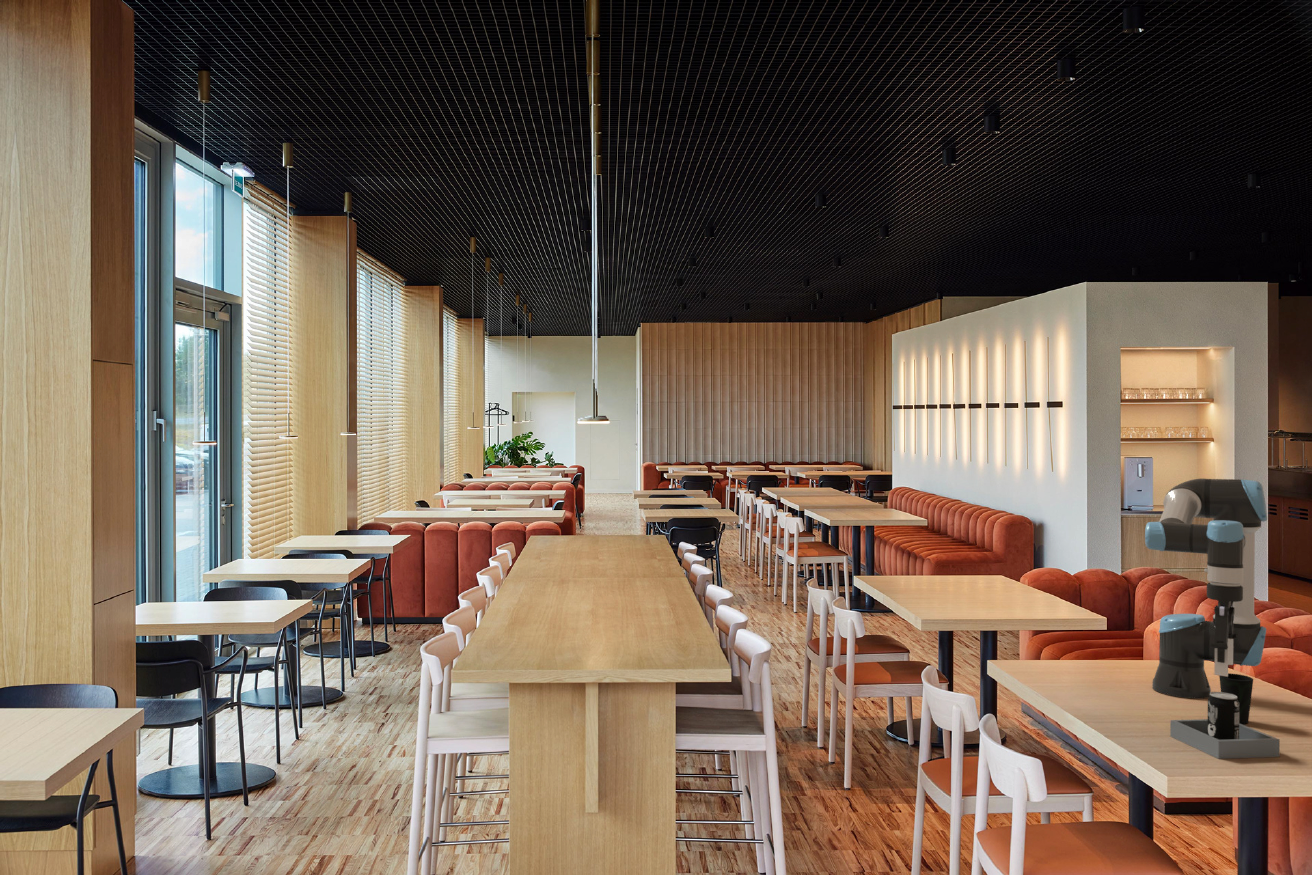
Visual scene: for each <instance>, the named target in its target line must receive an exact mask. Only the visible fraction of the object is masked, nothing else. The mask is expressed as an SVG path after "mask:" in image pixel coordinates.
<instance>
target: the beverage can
mask: <svg viewBox="0 0 1312 875" xmlns="http://www.w3.org/2000/svg"><path fill="white" fill-rule="evenodd" d="M1207 719H1208V722H1207V735H1209V736H1212V737H1214V738H1216V739H1219V740H1229V739H1239V702H1238V700H1237V696H1235V695H1233V694H1229V693H1223V692H1221V691H1211V693H1210V696H1209V697H1208V698H1207Z"/></svg>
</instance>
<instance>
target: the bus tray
mask: <svg viewBox="0 0 1312 875" xmlns="http://www.w3.org/2000/svg"><path fill="white" fill-rule="evenodd" d="M1207 722H1208V718H1205V719H1203V718H1202V719H1201V718H1200V719H1171V720H1170V737H1171V738H1173V739H1175V740H1176V741H1177V740H1178V741H1179V742H1181V743H1184V744H1186V745H1187V746H1190V747H1192V748H1194V749H1196V750H1199V751H1201V752H1203V753H1205V754H1207V755H1210V756H1212V757H1214V758H1216V759H1218V760H1221V759H1222V760H1223V759H1225V760H1226V759H1248V758H1249V759H1251V758H1279V757H1280V739H1279V738H1277V737H1275V736H1271V735H1269V734H1267V733H1265V732H1262V731H1259V730H1257V729H1254V728H1252V727H1249V726H1247V725H1242V724H1240V723H1239V739H1229V740H1219V739H1216V738H1214V737H1212V736H1209V735H1207Z"/></svg>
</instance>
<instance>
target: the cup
mask: <svg viewBox="0 0 1312 875" xmlns="http://www.w3.org/2000/svg"><path fill="white" fill-rule="evenodd" d="M1218 676H1219V677H1218V678H1219V686H1220V692H1223V693H1229V694H1233V695H1235V696H1237V700H1238V702H1239V723H1240V724H1242V725H1245V726H1247V725H1248V724H1249V720H1250V710H1251V703H1252V694H1253V693H1252V692H1253V688H1254V687H1253V686H1254V678H1253V677H1250V676H1248V675H1245V674H1244V675H1243V674H1240V673H1239V674H1238V673H1231V672H1228V677H1227V676H1220V675H1218Z"/></svg>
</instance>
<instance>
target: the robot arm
mask: <svg viewBox="0 0 1312 875" xmlns="http://www.w3.org/2000/svg"><path fill="white" fill-rule="evenodd" d="M1162 503H1163V511H1162V513H1161V517H1160V519H1159V520H1158V521H1149V522H1147V523H1146V525H1145V531H1144V532H1145V533H1144V541H1145V542H1144V543H1145V547H1146V548H1147V549H1148V550H1152V551H1159V552H1173V553H1175V552H1176V553H1188V554H1189V553H1193V554H1205V555H1207V557H1206V559H1207V561H1206V562H1207V563H1206V567H1207V568H1204V570H1203V571H1204V573H1207V574H1206V581H1208V583H1207V584H1206V598H1208V599H1209V600H1213V601H1214V600H1215V601H1216V602H1217V605H1215V606H1214V607H1213V608H1214V610H1213V611H1214V614H1213V615H1212V620H1211V621H1210V620H1206V618H1205V616H1204V615H1203V614H1199V613H1198V614H1195V613H1173V614H1166V615H1165V616H1162V617H1161V619H1160V620H1159V629H1158V633H1159V649H1158V650H1159V651H1158V652H1159V653H1158V654H1159V655H1158V656H1159V658H1158V661H1159V662H1158V666H1157V669H1156V671H1155V674H1154V678H1152V681H1151V682H1152V683H1151V684H1152V689H1153V691H1156V692H1157V693H1161V694H1164V695H1166V696H1167V695H1168V696H1171V697H1177V698H1185V699H1208V698H1209V696H1210V693H1211V692H1212V691H1211V690H1212V689H1211V685H1210V683H1209V678H1208V676H1207V673H1206V671H1205V661H1207V662H1214V672H1213V673H1214V674H1213V675H1214V676H1215V675H1216V676H1219V675H1220V676H1227V677H1228V673H1229V666H1233V665H1239V666H1241V667H1242V666H1247V667H1256V666H1257V667H1258V666H1259V665H1260V664H1261V662H1262V660H1263V659H1262V658H1263V654H1264V648H1265V647H1264V646H1265V641H1266V635H1267V628H1266V626H1261V619H1260V618H1259V617H1257V616H1256V614H1255V558H1256V557H1255V553H1256V552H1255V547H1256V546H1255V543H1256V542H1255V541H1256V538H1255V537H1256V536H1255V534H1256V532H1257V531H1258V530H1260V529H1261V528H1262V522H1264V523H1265V522H1267V520H1268V513H1267V504H1266V498H1265V491H1264V487H1263V484H1262V483H1261V482H1260V481H1258V480H1250V479H1244V478H1243V479H1242V478H1240V479H1238V478H1237V479H1236V478H1234V479H1233V478H1229V479H1227V478H1223V479H1222V478H1195V479H1189V480H1187V481H1184V482H1181V483H1179V484H1177V485H1174V486H1173V487H1172V488H1170V489H1169V490H1168V492H1167V493H1166V494H1165V496H1164V499H1163V502H1162ZM1194 518H1201V519H1202V518H1203V519H1204V518H1205V519H1213V520H1209V522H1207V524H1199V523H1198V524H1197V523H1193V521H1194Z"/></svg>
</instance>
